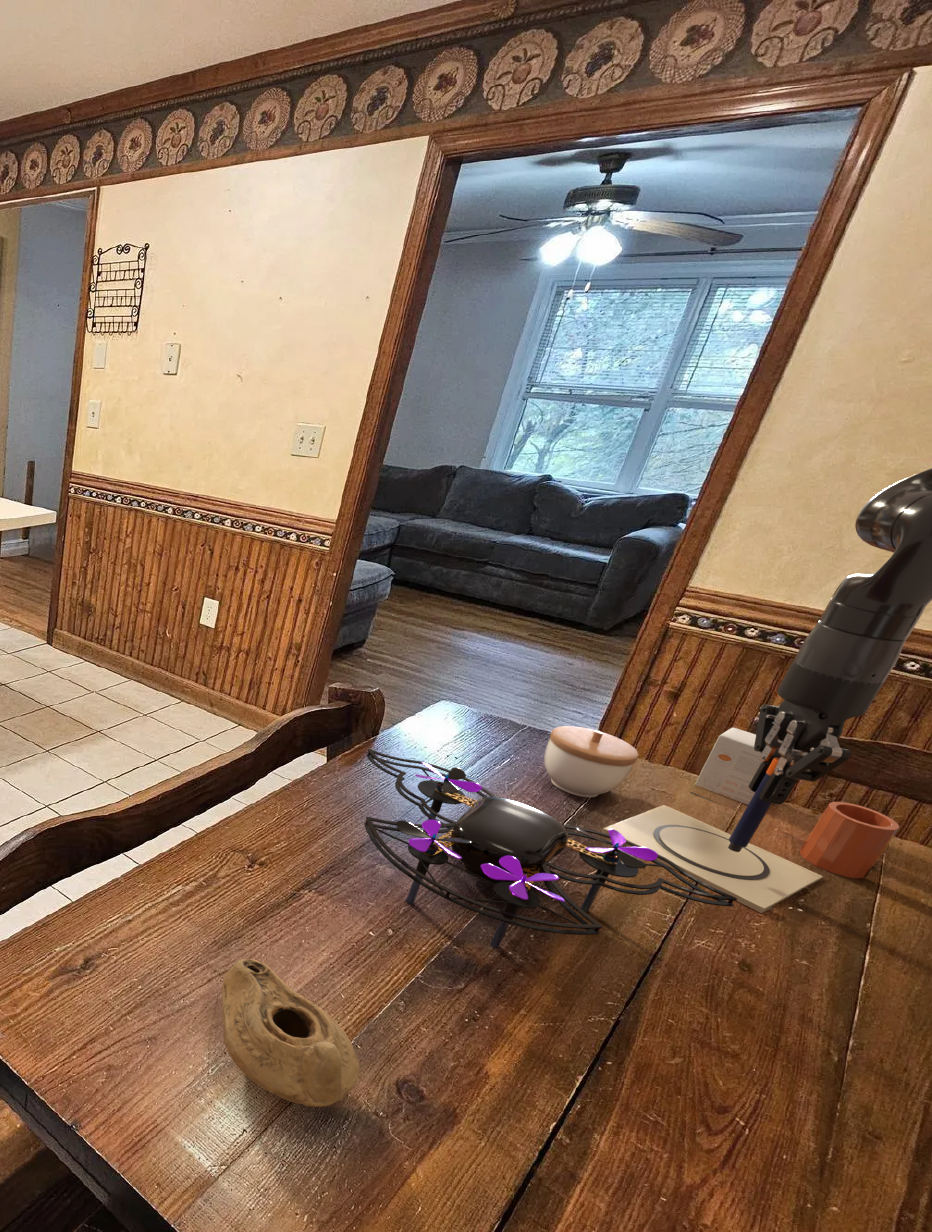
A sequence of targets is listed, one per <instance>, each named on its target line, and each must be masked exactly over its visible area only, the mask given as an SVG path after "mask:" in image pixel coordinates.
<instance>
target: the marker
mask: <svg viewBox="0 0 932 1232" xmlns="http://www.w3.org/2000/svg"><path fill="white" fill-rule="evenodd" d="M779 760H780V758H774V759H773V761H772V762H771V764H770V766H769V768H768V769H767V771H766V774H765V776H764V778H763V779H762V781H761V783H760V785H759V787H758V788H757V790H756V792H755V794H754V795H753V797H752V799H751V801H750V802H749V804H748V805H747V806H746V808H745V809H744V812H743V813H742V814H741V816H740V819H739V820H738V822H737V824H736V825H735V828H734V829H733V831H732V833H731V834H730V835H731V836H730V838H729V842H731V843H730V844H729V846H728V848H729V849H730V850H732V851H735V852H740V851H741V849H742V847H747V845H748V844H749V843H750V842H751V840H752V838H753V836H754V835H755V834H756V831H757V830H758V828H759V826H760V825H761V823H762V821H763V820H764V818H765V815H766V814H767V813H768V810H769V809H770V808H771V805H772V804H773V803H768V802H764V801H763V800H762V799H760V797H759V795H760V793H761V792H762V790H763V788H764V786H765V785H766V783H767V781H768V779H769V778H770V776H771V774H772V773H774V770H775V768H776V766H777V764H778V762H779ZM793 764H795V762H794V761H793V762H791V764H790V766H789V767H791V766H792V765H793Z"/></svg>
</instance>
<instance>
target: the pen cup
mask: <svg viewBox="0 0 932 1232" xmlns="http://www.w3.org/2000/svg"><path fill="white" fill-rule="evenodd" d="M899 829H900V825H899V823H898V822H897V821H895V820H894V819H893V818H891V817H890V816H887V815H885V814H884V813H882V812H880V811H876V810H874V809H871V808H869V807H866V806H862V805H859V804H855V803H851V802H850V803H849V802H845V801H832V802H830V803H828V804H827V806H826V808H825V809H824V811H823V812H822V813H821V815H820V817H819V818H818V821H817V822H816V823H815V826H814V827H813V829H812V830H811V831H810V833H809V835H808V837H807V838H806V839H805V841H804V843H803V844H802V846H801V847H800V849H799V855H800V856H801V857H802V858H803V859H804V860H805V861H807V862H808V863H810V864H812V865H813V866H815V867H816V868H820V869H821V870H824V871H826V872H829V873H831V874H834V875H838V876H841V877H845V878H850V879H863V878H865V877H867V876H868V874H869V873H870V872H871V871H872V869H871V868H874V866H875V864H876V863H877V861H878V860H879V859H880V857H881V855H882V854H883V853H884V851H885V850H886V848H887V847H888V845H889V844H890V843H891V841H892V839H893V838H894V837H895V835H896V834H897V832H898V830H899Z"/></svg>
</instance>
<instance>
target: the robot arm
mask: <svg viewBox="0 0 932 1232" xmlns="http://www.w3.org/2000/svg"><path fill="white" fill-rule="evenodd" d="M855 531H856V534H857V536H858V537H859V539H861V541H863V542H865V544H867V545H869V546H871V547H874V548H877V549H880V550H883V551H886V552H890V553H893V554H892V555H891V556H890V557H889V558H888V559H887V561H885V563H884V564H882V566H880V568H879V569H878V570H876V571H875V572H859V573H854V574H851V575H848V576H847V577H845V578H844V579H843V580H842V582H841V583H840V584H839V585H838V586H837V588H836V589H835V591H834V592H833V594H832V596H831V598H830V600H829V601H828V603H827V606H826V607H825V608H824V610H823V612H822V614H821V616H820V618H819V620H818V622H817V623H816V624H815V625H814V627H813V628H812V629H811V631H810V632H809V633H808V635H807V636H806V637H805V639H804V640H803V642H802V644H801V646H800V647H799V649H798V651H797V653H796V655H795V657H794V659H793V660H792V662H791V664H790V666H789V668H788V669H787V671H786V673H785V675H784V677H783V678H782V681H781V682H780V684H779V686H778V687H777V690H776V692H777V695H778V696H779V697H780V698H781V699H782V701H781V702H780V704H779V705H771V704H763V705H762V706H761V707H760V710H759V714H758V715H759V716H758V722H757V728H756V732H755V735H756V739H755V744H754V750H755V751H758V752H760V753H761V754H760V756H759V760H760V762H762V763H761V764H760V766H759V768H758V770H757V771H756V773H755V775H754V777H753V778H752V781H751V782H750V784H749V788H750V789H751V790H752V791H753V792H756V790H757V788H758V787H759V785H760V783H761V781H762V779H763V778H764V776H765V774H766V771H767V769H768V768H769V766H770V764H771V762H772V761H773V759H774V758H780V760H779V762H778V764H777V766H776V768H775V770H774V773H772V774H771V776H770V778H769V779H768V781H767V783H766V785H765V786H764V788H763V790H762V792H761V793H760V795H759V797H760V799H762V800H763V801H764V802H768V803H772V804H774V805H783V804H784V803H785V802H786V801H787V799H788V798H789V795H790V794H791V792H792V791H793V789H794V788H795V785H796V784H797V783H798V782H799V781H806V782H807V781H808V782H811V783H815V782H817V781H818V780H820V779H821V778H822V777H825V776H826V775H827V774H829V773H830V772H831V771H833V770H834V769H836V768H837V767H839V766H840V765H842V764H843V763H845V762H846V761H848V760H849V759H850V758H851V756H852V751H851V750H850V749H846V748H842V747H840V744H839V740H838V739H839V738H840V737H841V736H842V734H843V731H844V726H845V723H846V721H847V720H849V719H852V718H858V717H861V716H863V715H864V714H866V713H867V711H868V709H869V708H870V706H871V705H872V702H873V701H874V699H875V698H876V696H877V695H878V693H879V691H880V689H881V688H882V687H883V685H884V683H885V681H886V680H887V679H888V677H889V676H890V673H891V672H892V670H893V668H894V667H895V666H896V663H897V662H898V660H899V658H900V655H901V653H902V651H903V648H904V645H905V644H906V642H907V639H908V638H909V637H910V636H911V633H912V632H913V630H914V628H915V627H916V625H917V624H918V622H919V621H920V619H921V617H922V615H923V613H924V612H925V610H926V608H927V606H928V605H929V604H930V603H931V602H932V467H931V468H929V469H926V470H923V471H921V472H919V473H916V474H913V475H911V476H909V477H906V478H904V479H902V480H899V481H897V482H895V483H893V484H892V485H889V486H888V487H886V488H884V489H882V491H880V492H878V493H877V494H875V496H873V497H872V498H870V500H868V502H866V503H865V504H864V506H863V507H862V508H861V510H860V511H859V513H858V515H857V517H856V519H855ZM793 760H794V761H796V762H794V761H793ZM792 761H793V762H794V764H793V765H792V766H791V767H789V766H790V764H791V762H792Z"/></svg>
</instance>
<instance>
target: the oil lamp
mask: <svg viewBox="0 0 932 1232" xmlns="http://www.w3.org/2000/svg"><path fill="white" fill-rule="evenodd" d="M221 991H222V992H221V994H222V997H221V999H222V1000H221V1001H222V1002H221V1003H222V1004H221V1005H222V1007H221V1008H222V1021H223V1023H222V1030H223V1031H222V1032H223V1034H222V1035H223V1042H224V1045H225V1048H226V1050H227V1052H228V1054H229V1056H230V1058H231V1060H232V1061H233V1063H234V1064H235V1065H236V1067H237V1068H238V1069H239V1070H240V1071H241V1072H242V1073H243V1074H244V1075H245V1076H246V1077H247V1078H248V1079H250V1080H251V1081H253V1083H255V1084H256V1085H257V1086H258V1087H260V1088H261V1089H262V1090H265V1091H267V1092H269V1093H270V1094H273V1095H274V1096H277V1097H279V1098H281V1099H282V1100H283V1099H284V1100H285V1101H288V1102H291V1103H294V1104H299V1105H304V1106H306V1107H312V1108H313V1107H317V1108H319V1107H320V1108H321V1107H327V1106H330V1105H332V1104H334V1103H336V1102H342V1101H343V1100H344V1096H345V1095H346V1094H348V1093H349V1092H351V1091H352V1090H353V1089H354V1088H355V1087H356V1085H357V1083H358V1080H359V1076H360V1060H359V1059H358V1058H359V1057H358V1056H357V1053H356V1051H355V1048H354V1046H353V1044H352V1042H351V1039H350V1038H349V1036H348V1035H347V1033H346V1032H345V1030H344V1029H343V1027H342V1025H340V1024H339V1023H338V1022H337V1021H336V1020H335V1019H334V1018H333V1017H332V1016H330V1015H329V1014H328V1013H327V1012H326V1011H325V1010H324V1009H322V1008H321V1007H319V1006H318V1005H317V1004H315V1003H313V1002H312V1001H310V1000H309V999H307V998H306V997H305V996H302V995H301V994H299V993H298V992H296V991H295V990H293V989H292V988H291V987H290V986H289V985H287V984H286V983H285V982H284V981H283V980H282V979H281V978H280V977H279V976H278V974H276V972H274V970H273V969H272V968H270V967H269V966H268V965H267V964H266V963H263V962H261V961H258V960H256V959H247V958H243V959H239V960H238V961H236V962H235V964H234V965H233V966H232V967H230V968H229V970H228V971H227V972H226V973H225V974H224V979H223V981H222V990H221Z"/></svg>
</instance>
